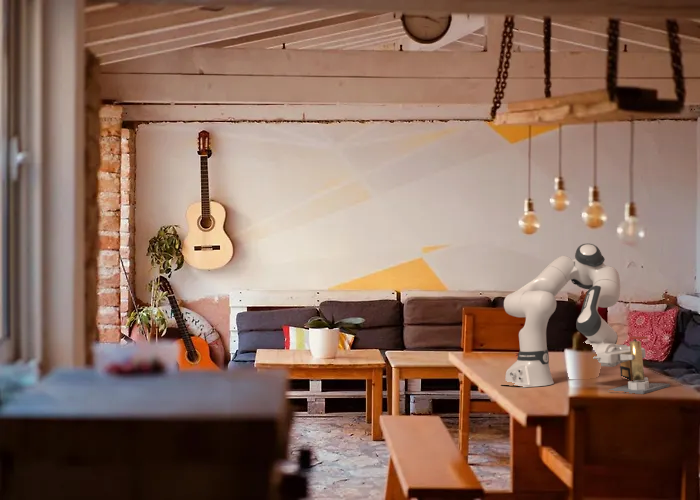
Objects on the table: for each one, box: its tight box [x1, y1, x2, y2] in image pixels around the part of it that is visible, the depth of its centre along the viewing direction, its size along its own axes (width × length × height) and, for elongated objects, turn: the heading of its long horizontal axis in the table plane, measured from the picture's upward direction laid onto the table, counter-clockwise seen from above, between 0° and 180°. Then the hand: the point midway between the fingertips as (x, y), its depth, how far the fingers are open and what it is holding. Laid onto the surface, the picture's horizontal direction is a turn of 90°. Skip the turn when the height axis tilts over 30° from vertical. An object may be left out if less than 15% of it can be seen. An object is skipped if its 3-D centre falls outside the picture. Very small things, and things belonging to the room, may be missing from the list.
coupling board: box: [608, 376, 671, 395], centre depth 320 cm, size 14×20×4 cm
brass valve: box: [629, 336, 648, 381], centre depth 315 cm, size 7×4×16 cm, turn 43°
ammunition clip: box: [619, 360, 634, 381], centre depth 351 cm, size 11×2×12 cm, turn 2°
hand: (638, 356), depth 316 cm, fingers closed on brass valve, 4 cm apart
